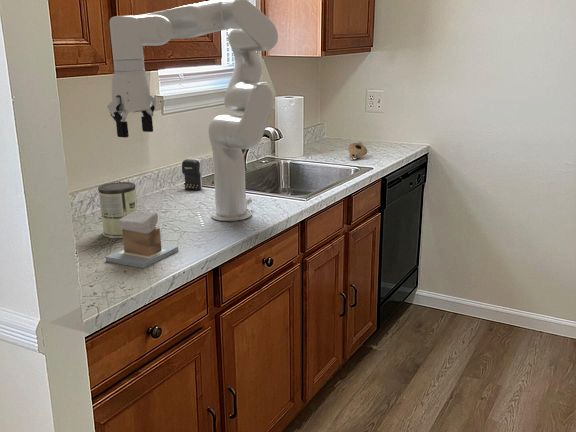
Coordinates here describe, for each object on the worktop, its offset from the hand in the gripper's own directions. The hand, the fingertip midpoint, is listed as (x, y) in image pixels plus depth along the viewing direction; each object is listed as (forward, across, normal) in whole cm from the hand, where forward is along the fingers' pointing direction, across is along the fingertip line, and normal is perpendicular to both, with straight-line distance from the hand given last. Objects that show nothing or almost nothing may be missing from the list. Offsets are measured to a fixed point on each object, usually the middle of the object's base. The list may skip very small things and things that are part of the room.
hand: (135, 134), depth 157 cm
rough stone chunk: (+23, +9, +6) cm, 25 cm away
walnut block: (+28, +9, +7) cm, 31 cm away
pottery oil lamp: (+32, -138, +10) cm, 142 cm away
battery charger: (+31, -57, -25) cm, 69 cm away
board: (+30, +9, +7) cm, 32 cm away
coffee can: (+30, -4, -12) cm, 33 cm away
